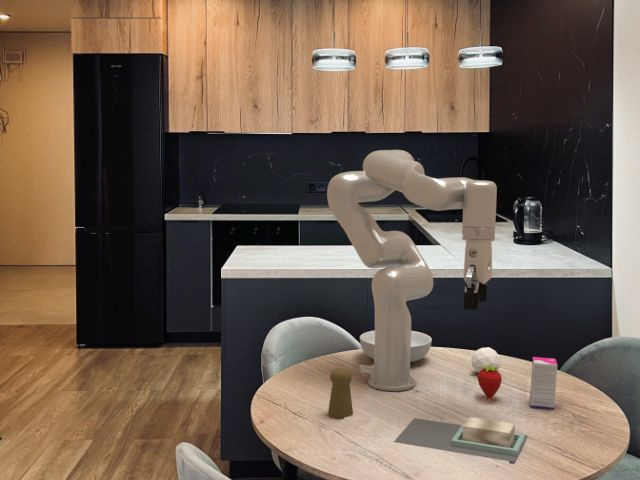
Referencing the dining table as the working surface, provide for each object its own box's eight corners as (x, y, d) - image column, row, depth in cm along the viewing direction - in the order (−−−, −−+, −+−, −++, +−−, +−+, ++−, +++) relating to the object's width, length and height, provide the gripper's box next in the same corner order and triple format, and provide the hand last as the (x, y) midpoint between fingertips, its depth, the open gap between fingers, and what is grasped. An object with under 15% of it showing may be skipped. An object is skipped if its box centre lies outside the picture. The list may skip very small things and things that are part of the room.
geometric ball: (491, 383, 236) (510, 362, 234) (478, 379, 230) (497, 358, 228) (474, 364, 240) (493, 344, 239) (460, 360, 235) (479, 339, 233)
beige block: (513, 441, 186) (514, 423, 185) (508, 451, 180) (509, 433, 180) (468, 434, 190) (469, 417, 189) (462, 443, 184) (463, 426, 184)
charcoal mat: (393, 443, 185) (393, 441, 185) (414, 419, 199) (414, 417, 199) (514, 463, 175) (514, 461, 175) (526, 436, 190) (527, 435, 189)
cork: (356, 412, 204) (357, 367, 202) (348, 420, 198) (349, 374, 197) (332, 408, 206) (333, 364, 204) (324, 417, 200) (325, 371, 199)
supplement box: (555, 410, 207) (557, 364, 206) (530, 408, 208) (532, 362, 207) (553, 402, 213) (556, 357, 211) (529, 400, 214) (531, 356, 212)
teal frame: (451, 445, 183) (451, 440, 183) (461, 430, 192) (462, 425, 192) (517, 456, 178) (517, 450, 177) (524, 439, 187) (525, 434, 187)
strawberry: (480, 404, 211) (481, 364, 209) (474, 394, 218) (475, 356, 217) (503, 404, 211) (505, 365, 209) (497, 394, 218) (498, 356, 217)
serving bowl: (434, 353, 255) (435, 330, 254) (427, 373, 235) (427, 349, 234) (366, 348, 260) (366, 326, 259) (353, 367, 240) (353, 344, 239)
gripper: (486, 239, 190) (483, 314, 192) (501, 230, 205) (498, 299, 208) (453, 237, 192) (451, 311, 195) (470, 228, 208) (468, 296, 211)
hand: (475, 305), depth 201 cm, fingers open, 9 cm apart
